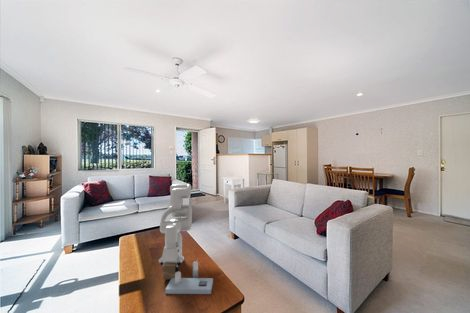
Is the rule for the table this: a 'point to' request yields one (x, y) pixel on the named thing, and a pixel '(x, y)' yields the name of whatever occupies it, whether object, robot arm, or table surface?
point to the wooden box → (169, 270)
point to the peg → (195, 269)
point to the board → (189, 285)
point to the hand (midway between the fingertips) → (170, 272)
